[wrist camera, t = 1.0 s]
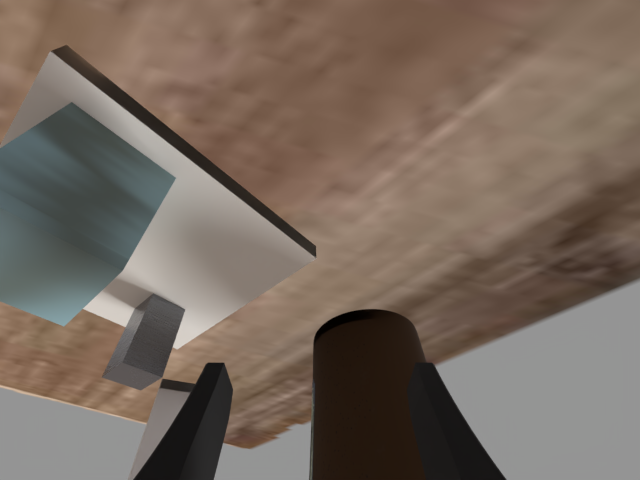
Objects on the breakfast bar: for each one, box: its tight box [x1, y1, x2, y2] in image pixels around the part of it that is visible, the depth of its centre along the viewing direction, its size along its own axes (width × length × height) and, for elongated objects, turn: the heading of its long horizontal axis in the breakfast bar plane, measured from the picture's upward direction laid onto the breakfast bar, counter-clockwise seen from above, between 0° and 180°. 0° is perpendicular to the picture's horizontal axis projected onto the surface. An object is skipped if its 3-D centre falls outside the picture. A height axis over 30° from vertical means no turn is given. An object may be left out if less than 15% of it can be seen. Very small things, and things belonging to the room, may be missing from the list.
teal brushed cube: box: [0, 102, 176, 326], centre depth 14 cm, size 5×5×7 cm
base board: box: [0, 45, 316, 349], centre depth 21 cm, size 16×16×1 cm
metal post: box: [102, 293, 185, 390], centre depth 23 cm, size 3×3×5 cm
